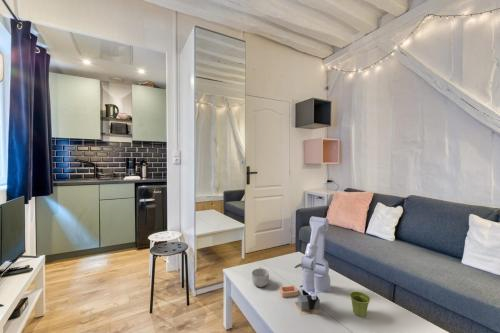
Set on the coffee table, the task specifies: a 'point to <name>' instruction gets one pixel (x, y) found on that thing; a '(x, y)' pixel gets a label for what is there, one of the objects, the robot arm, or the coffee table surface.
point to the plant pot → (359, 303)
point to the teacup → (260, 277)
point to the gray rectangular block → (304, 303)
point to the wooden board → (309, 310)
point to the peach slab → (288, 291)
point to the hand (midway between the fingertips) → (308, 304)
